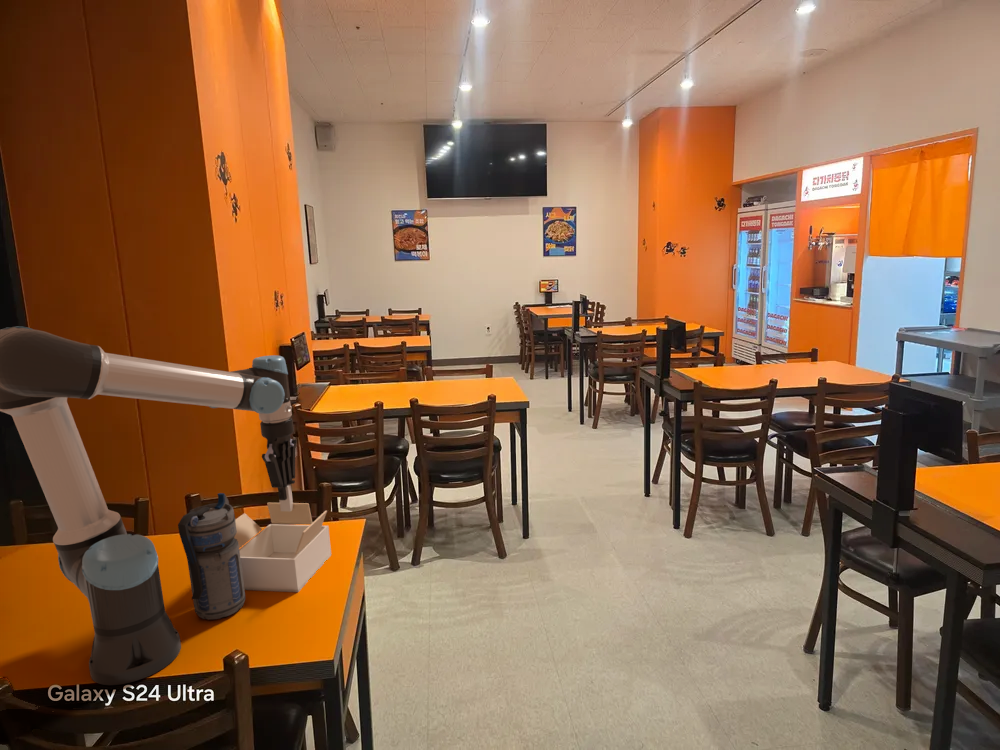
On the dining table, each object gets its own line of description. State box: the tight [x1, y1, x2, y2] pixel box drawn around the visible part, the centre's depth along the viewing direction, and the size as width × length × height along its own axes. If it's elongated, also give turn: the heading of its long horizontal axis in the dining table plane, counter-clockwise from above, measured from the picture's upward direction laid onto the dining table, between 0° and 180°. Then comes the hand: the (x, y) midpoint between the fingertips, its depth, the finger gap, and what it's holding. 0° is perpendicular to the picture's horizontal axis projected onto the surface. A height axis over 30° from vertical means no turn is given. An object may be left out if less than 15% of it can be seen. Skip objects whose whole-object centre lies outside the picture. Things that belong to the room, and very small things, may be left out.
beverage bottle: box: [177, 492, 246, 621], centre depth 132 cm, size 10×13×25 cm
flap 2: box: [295, 510, 328, 554], centre depth 146 cm, size 12×6×1 cm
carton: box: [234, 512, 332, 593], centre depth 150 cm, size 18×20×13 cm
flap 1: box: [267, 502, 314, 525], centre depth 157 cm, size 6×11×1 cm
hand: (287, 510), depth 155 cm, fingers closed
